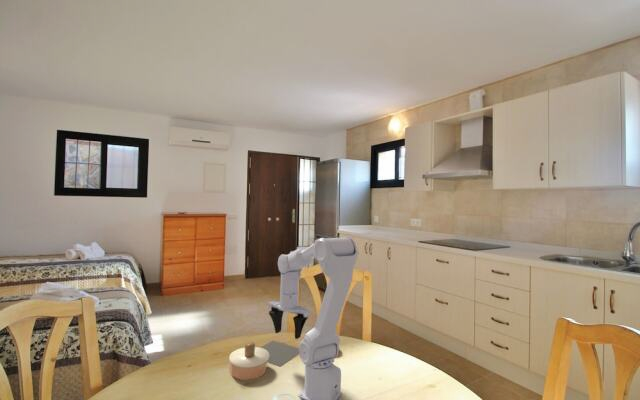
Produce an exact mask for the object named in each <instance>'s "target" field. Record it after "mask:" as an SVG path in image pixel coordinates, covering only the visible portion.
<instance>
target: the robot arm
mask: <svg viewBox="0 0 640 400" xmlns="http://www.w3.org/2000/svg"><path fill="white" fill-rule="evenodd" d="M358 256H359V250H358V247H357V244H356V242H355V239H354V238H353V237H350V236H345V237H331V238H330V237H328V238H327V237H326V238H325V237H319V238H318V239H315V240H314V241H313V243H312V244H311V245H310V246H308V247H304V246H303V245H301V246H297V247H296V249H295V250H291V251H290V252H289V253H288V254H284V253H283V254H280V255H279V256H278V260H277V267H278V272H280V291H279V294H280V295H279V301H275V300H274V301H273V300H272V301H270V302H268V309H270V310H269V311H268V315H269V316H270V318H271V320H272V323H273V327H274V332H275V334H279V333H280V332H282V328H283V327H282V324H283V323H282V322H283V316H284V312H286V313H290V314H294V315H295V316H293V317H292V320H293V322H294V323H293V325H294V339H296V340H298V339H299V338H301V337H302V336H301V335H302V331H303V329H304V326H305V324H306V321H307V320H308V319H309V317H310V314H311V313H310V309H309V308H306V307H303V306H301V305H299V280H300V278H301V275H302V274H301V273H302V270H303V268H305V267H307V266H309V265H310V264H312V262H313V260H314V259H316V260H317V262H318V265H319V267H320V269H321V271H322V273H323V275H325V276H326V277H328V281H327V285H326V290H325V292H324V294H323V299H322V301H321V305H320V308H319V310H318V311H319V312H318V315H317V318H316V321H315V325H314V327H312V328H311V329H310V330H309V331H308V332H306V333H305V334H304V337H303V339H302V340H301V341H300V342H299V345H298V348H299V354H298V356H299V358H300V361H301V362H302V363H303V364H304V389H303V390H301V392H299V393H298V394H297V397H298V398H300V399H302V400H338V399H339V398H340V396H341V395H342V391H341V390H342V389H341V388H342V370H341V368H340V367H339V366H337V365H335V364H334V363H335V358H336V357H338V355H339V353H340V346H339V345H340V342H341V338H340V336H339V334H338V332H337V331H336V329H337V326H338V323H339V321H340V318H341V314H342V312H343V308H344V305H345V302H346V300H347V297H348V293H349V291H350V287H351V285H352V282H353V275H354V268H355V266H356V263H357V259H358ZM338 352H339V353H338Z"/></svg>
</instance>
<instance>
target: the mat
mask: <svg viewBox="0 0 640 400" xmlns="http://www.w3.org/2000/svg"><path fill="white" fill-rule="evenodd" d="M259 348H263V349H265V350H267V351H268V352H269V359H268V361H267V364H272V365H273V366H277V367H280V368H281V367H283V366H285V364H287V363H288V362H290V361H291V360H292V359H294V358H296V357H297V356H299V347H296V346H293V345H289V344H286V343H283V342H280V341H276V340H270V341H269V342H267V343H265V344H263V345H262V346H260V347H259Z"/></svg>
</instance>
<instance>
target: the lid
mask: <svg viewBox="0 0 640 400" xmlns="http://www.w3.org/2000/svg"><path fill="white" fill-rule="evenodd" d="M268 359H269V352H268V351H267V350H265V349H263V348H260V347H259V346H258V347H257V346H256V343H255V342H253V341H247V342H246V343H244V347H241V348H237V349H236V350H234V351H232V352H231V353H229V360H228V361H229V363H230V362H231V363H232V364H233V365H235V366H238V367H255V366H259V365H262V364H264V363H265V362H267V361H268ZM267 363H268V362H267Z"/></svg>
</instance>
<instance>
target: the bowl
mask: <svg viewBox="0 0 640 400" xmlns="http://www.w3.org/2000/svg"><path fill="white" fill-rule="evenodd" d="M267 366H268V362H265V363H264V364H262V365H259V366H255V367H238V366H235V365H233V364H232V363H231V362H230V361H229V366H228V367H229V369H228V370H229V374H230V376H231V377H232V378H234V379H237V380H242V381H247V380H248V381H249V380H254V379H257V378H260V377H262V376H263V375H264V374H265V373H266V371H267Z"/></svg>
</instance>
